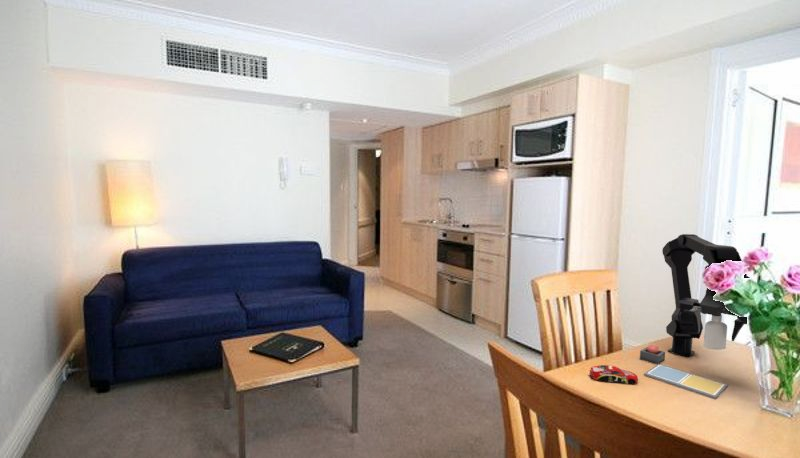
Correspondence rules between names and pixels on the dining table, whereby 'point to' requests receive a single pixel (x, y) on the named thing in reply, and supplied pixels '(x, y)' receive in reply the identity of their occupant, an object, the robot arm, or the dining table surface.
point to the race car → (612, 374)
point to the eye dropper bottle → (715, 334)
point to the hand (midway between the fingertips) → (715, 336)
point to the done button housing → (652, 356)
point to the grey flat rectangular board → (687, 380)
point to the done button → (652, 349)
